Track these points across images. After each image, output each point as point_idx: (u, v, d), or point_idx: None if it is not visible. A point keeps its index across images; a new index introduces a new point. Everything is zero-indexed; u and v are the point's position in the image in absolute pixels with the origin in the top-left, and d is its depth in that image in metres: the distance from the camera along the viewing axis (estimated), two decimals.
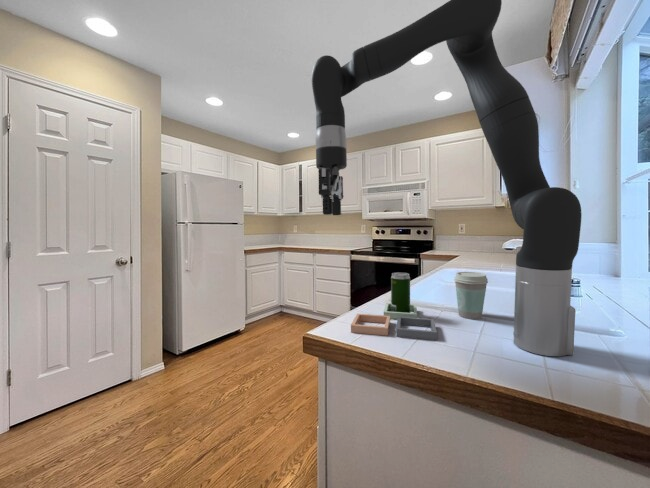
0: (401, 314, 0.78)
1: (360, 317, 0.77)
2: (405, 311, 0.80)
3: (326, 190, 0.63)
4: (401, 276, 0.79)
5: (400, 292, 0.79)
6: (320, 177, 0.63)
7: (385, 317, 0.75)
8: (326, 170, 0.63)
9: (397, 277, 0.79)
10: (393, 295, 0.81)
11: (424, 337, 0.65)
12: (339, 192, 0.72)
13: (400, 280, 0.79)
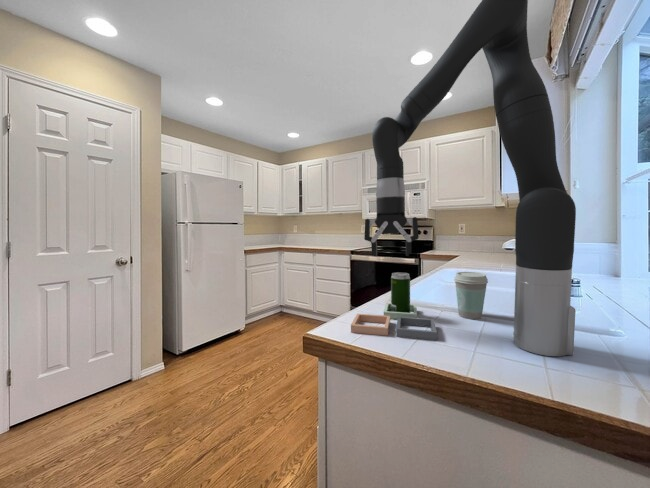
0: (401, 314, 0.78)
1: (360, 317, 0.77)
2: (405, 311, 0.80)
3: None
4: (401, 276, 0.79)
5: (400, 292, 0.79)
6: (417, 225, 0.74)
7: (385, 317, 0.75)
8: None
9: (397, 277, 0.79)
10: (393, 295, 0.81)
11: (424, 337, 0.65)
12: None
13: (400, 280, 0.79)
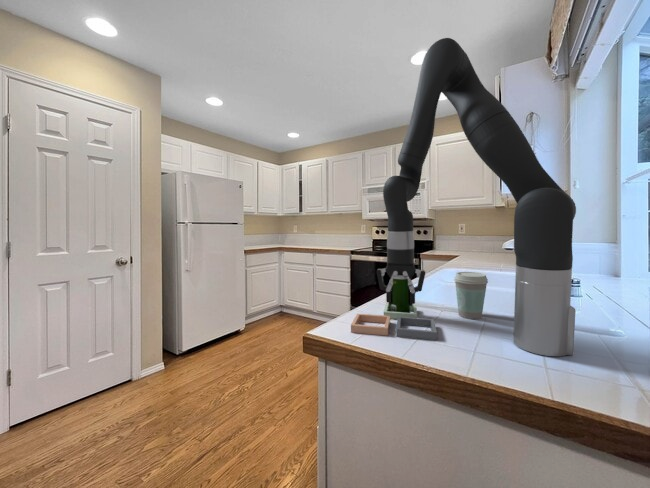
0: (401, 314, 0.78)
1: (360, 317, 0.77)
2: (405, 311, 0.79)
3: None
4: (401, 276, 0.79)
5: (400, 292, 0.79)
6: None
7: (385, 317, 0.75)
8: None
9: (397, 277, 0.79)
10: (393, 295, 0.80)
11: (424, 337, 0.65)
12: None
13: (400, 280, 0.79)
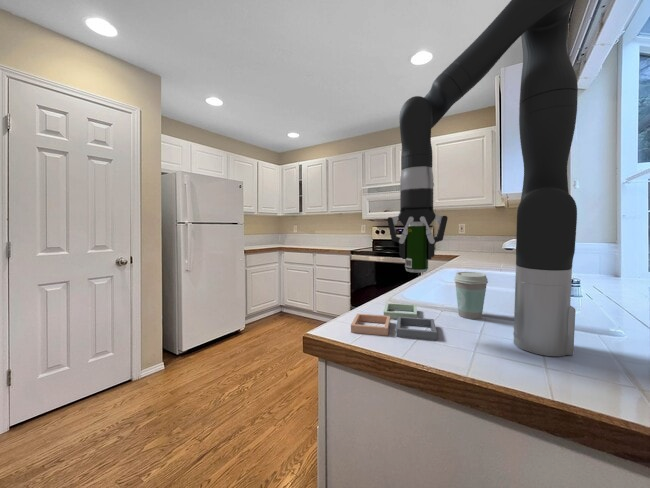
0: (401, 314, 0.78)
1: (360, 317, 0.77)
2: (423, 265, 0.66)
3: None
4: (418, 222, 0.65)
5: (416, 242, 0.65)
6: None
7: (385, 317, 0.75)
8: None
9: (413, 224, 0.65)
10: (408, 247, 0.67)
11: (424, 337, 0.65)
12: None
13: (417, 227, 0.65)
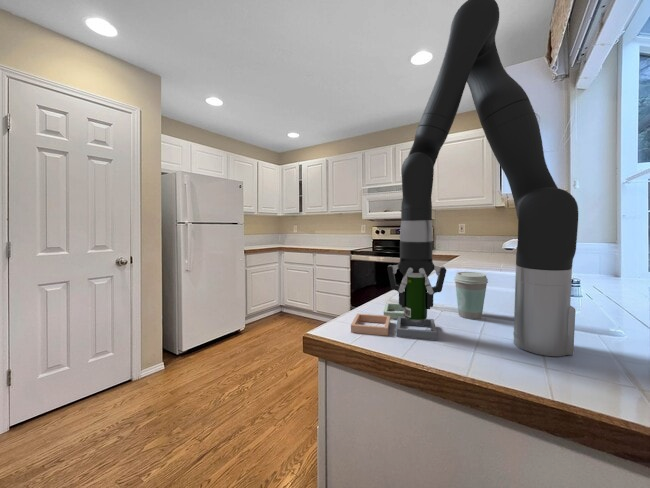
0: (401, 314, 0.78)
1: (360, 317, 0.77)
2: (421, 315, 0.67)
3: None
4: (417, 274, 0.66)
5: (416, 293, 0.66)
6: None
7: (385, 317, 0.75)
8: None
9: (412, 275, 0.67)
10: (407, 296, 0.68)
11: (424, 337, 0.65)
12: None
13: (416, 279, 0.66)
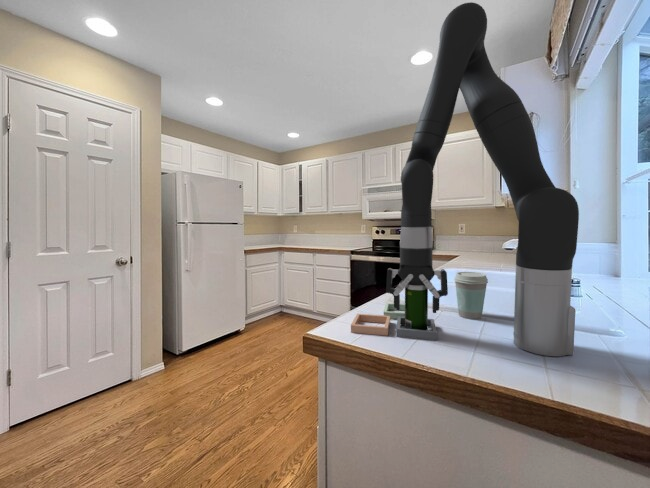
0: (401, 314, 0.78)
1: (360, 317, 0.77)
2: (422, 328, 0.67)
3: None
4: (417, 286, 0.66)
5: (416, 306, 0.66)
6: (446, 279, 0.66)
7: (385, 317, 0.75)
8: None
9: (413, 287, 0.67)
10: (408, 309, 0.68)
11: (424, 337, 0.65)
12: None
13: (416, 291, 0.66)
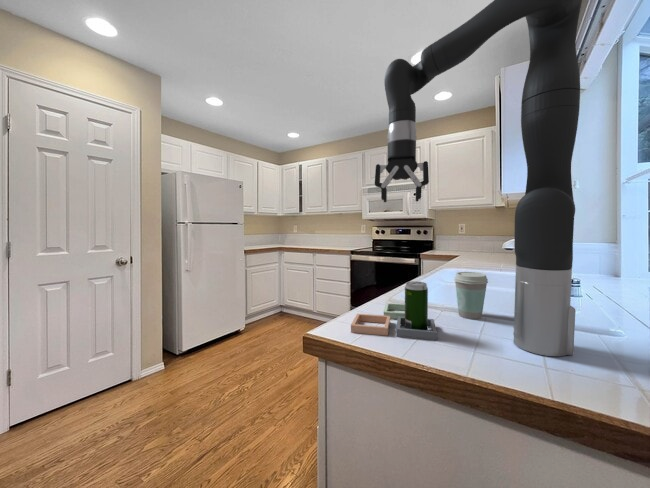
0: (401, 314, 0.78)
1: (360, 317, 0.77)
2: (422, 328, 0.67)
3: None
4: (417, 286, 0.66)
5: (416, 306, 0.66)
6: None
7: (385, 317, 0.75)
8: None
9: (413, 288, 0.67)
10: (408, 309, 0.68)
11: (424, 337, 0.65)
12: (390, 181, 0.79)
13: (416, 291, 0.66)
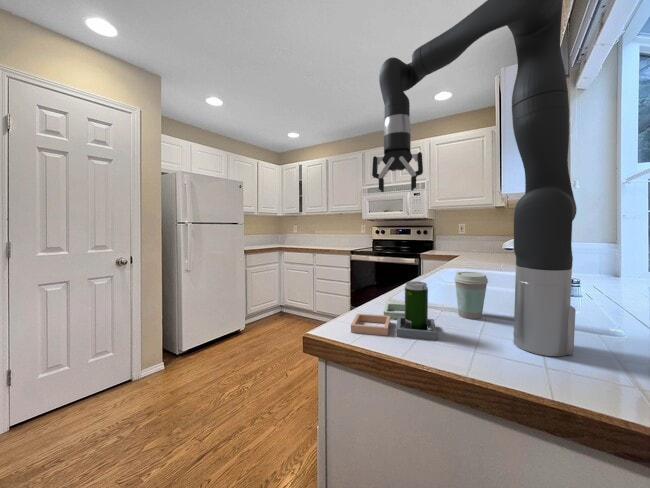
0: (401, 314, 0.78)
1: (360, 317, 0.77)
2: (422, 328, 0.67)
3: None
4: (417, 286, 0.66)
5: (416, 306, 0.66)
6: None
7: (385, 317, 0.75)
8: None
9: (413, 288, 0.67)
10: (408, 309, 0.68)
11: (424, 337, 0.65)
12: (387, 172, 0.84)
13: (416, 291, 0.66)
